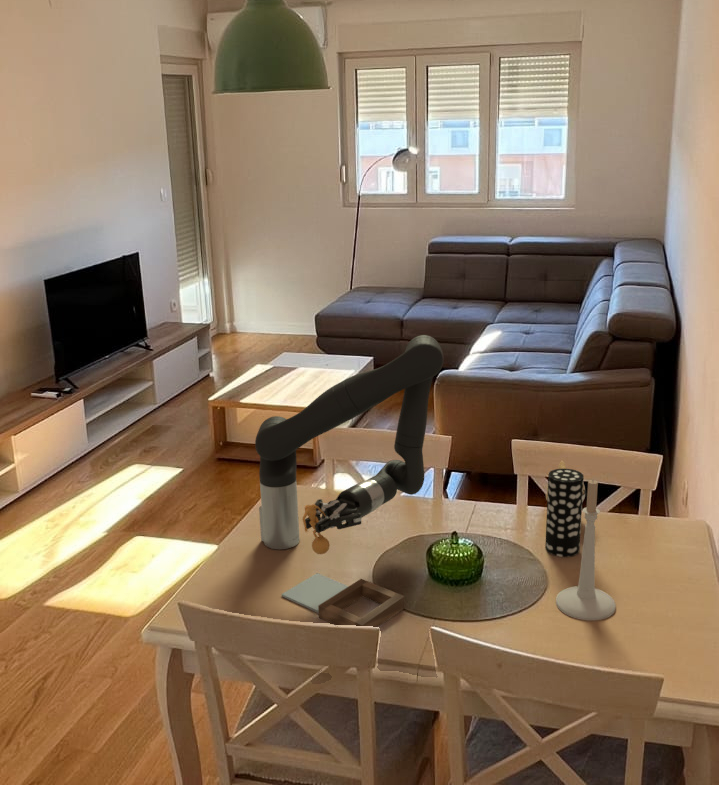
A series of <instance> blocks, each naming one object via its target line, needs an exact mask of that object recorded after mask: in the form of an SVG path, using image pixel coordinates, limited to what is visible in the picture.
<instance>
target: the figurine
mask: <svg viewBox="0 0 719 785" xmlns="http://www.w3.org/2000/svg"><path fill="white" fill-rule="evenodd" d="M316 508H317V509H318V510H319V511H320V512H322V513H323V514H324V512H323V511H322V510H321V509H320V508H319V507H318V506H316V505H315V503H313V504H307V505H305V507H304V514H303V516H302V522H303V526H304V527H303V528H304V531H305V533H308V532H309V529H307V528H306V522H305V519H306V518H308V517H309V518H310V520H311V521H310V525H311V526H312V527H311V528H312V529H313V531H312V533H313V536H314V539H313V540H312V542H311V547H312V551H313V552H314V553H315V554H317V555H323V554H326V553H327V552H328V551H329V550H330V546H331V545H330V541H329V540H328V538H327V537H325V536H324V535H322V534H321V532H320V533H317V532H316V529H315V525H316V523H318V522H320V521H319V520H318V518H317V517H315V515H316ZM307 516H308V517H307ZM324 516H325V514H324ZM325 517H326V516H325ZM316 533H317V534H316Z"/></svg>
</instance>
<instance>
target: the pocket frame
mask: <svg viewBox="0 0 719 785" xmlns="http://www.w3.org/2000/svg"><path fill="white" fill-rule="evenodd" d="M348 586H349V587H347V588H345V589H344V590H342V591H341V592H339V593H338V594H336V595H334V596H333V597H331V598H330V599H328V600H326V601H325V602H323V603H322V604H320V605H319V606H318V609H319V613H318V618H319V619H321V620H323V621H325V622H328V623H330V624H332V625H334V626H336V625H356V626H373V627H377V628H379V627H380V626H381V625H383V624H384V623H385V622H387V621H388V620H390V619H391V618H393V617H394V616H396V615H397V614H398V613H400V612H401V611H402V610H404V609H405V595H403V594H400V593H398V592H395V591H392V590H390V589H387V588H385V587H383V586H381V585H378V584H376V583H373V582H371V581H368V580H366V579H364V578H360V579H358V580H356V581H355V582H353V583H352V584H350V585H348ZM361 598H365V599H367V600H369V601H373V602H375V603H377V604H379V605H378V606H376V607H375V608H373V609H372V610H370V611H369V612H368V613H366V614H364V615H363V616H362V617H359V616H358V615H356V614H354V613H351V612H348V611H347V610H344V609H346V608H347V607H349V606H350V605H352V604H353V603H355V602H356V601H358V600H360V599H361Z"/></svg>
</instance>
